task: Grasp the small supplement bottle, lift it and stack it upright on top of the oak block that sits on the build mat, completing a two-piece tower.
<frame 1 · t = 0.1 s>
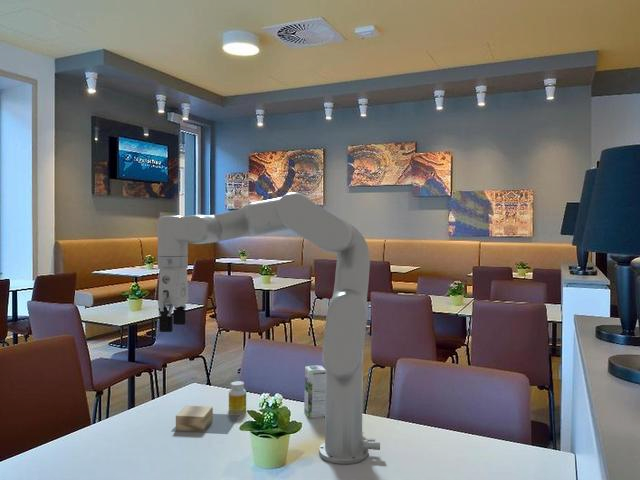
hand: (172, 327, 133), 31 cm above the table, tool pointing down, fingers open, 9 cm apart
build mat: (207, 426, 146), on the table
oak block: (194, 425, 144), point 1 cm above the table, touching build mat
supplement bottle: (237, 414, 156), on the table
syrup box: (315, 415, 156), on the table
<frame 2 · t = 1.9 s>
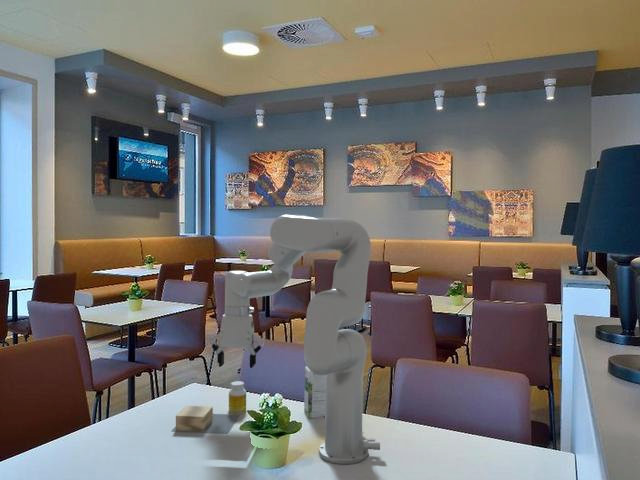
hand: (236, 366, 156), 15 cm above the table, tool pointing down, fingers open, 9 cm apart
nothing on the table moved.
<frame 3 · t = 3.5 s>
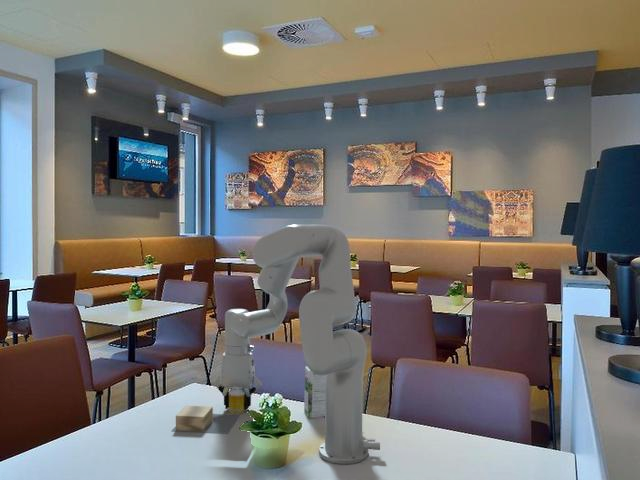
hand: (237, 407, 156), 2 cm above the table, tool pointing down, fingers closed on supplement bottle, 5 cm apart
supplement bottle: (237, 414, 156), on the table, touching gripper
everything else where it was.
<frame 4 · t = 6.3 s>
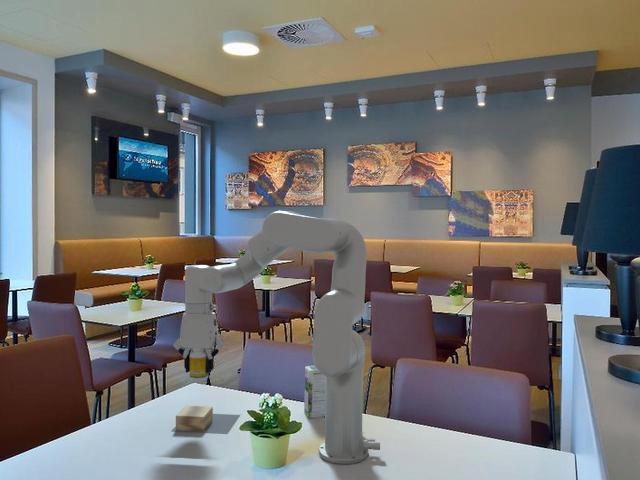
hand: (199, 370, 145), 16 cm above the table, tool pointing down, fingers closed on supplement bottle, 5 cm apart
supplement bottle: (199, 378, 145), point 14 cm above the table, touching gripper
everything else where it was.
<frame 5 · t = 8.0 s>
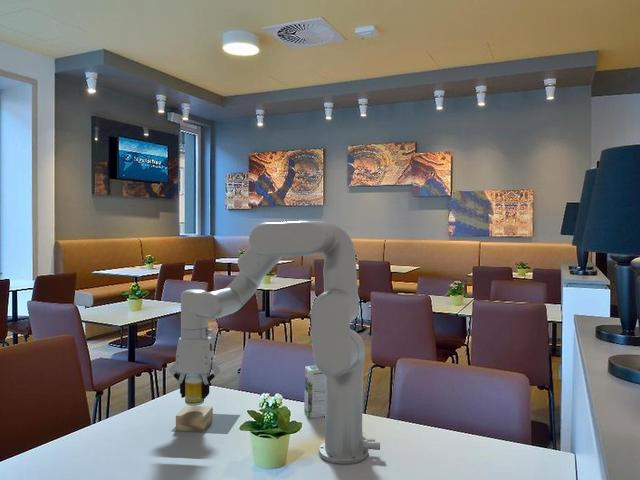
hand: (194, 395, 144), 10 cm above the table, tool pointing down, fingers closed on supplement bottle, 5 cm apart
supplement bottle: (194, 403, 144), point 7 cm above the table, touching gripper
everything else where it was.
when the fingers open (8 cm above the table, at t = 9.2 s): supplement bottle drops 1 cm, resting on oak block.
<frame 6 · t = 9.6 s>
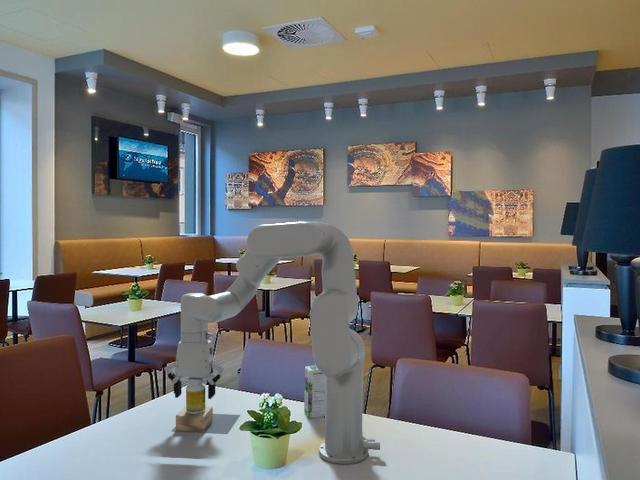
hand: (194, 396, 144), 9 cm above the table, tool pointing down, fingers open, 9 cm apart
oak block: (194, 425, 144), point 1 cm above the table, touching supplement bottle, build mat
supplement bottle: (195, 411, 144), point 5 cm above the table, touching oak block
everything else where it was.
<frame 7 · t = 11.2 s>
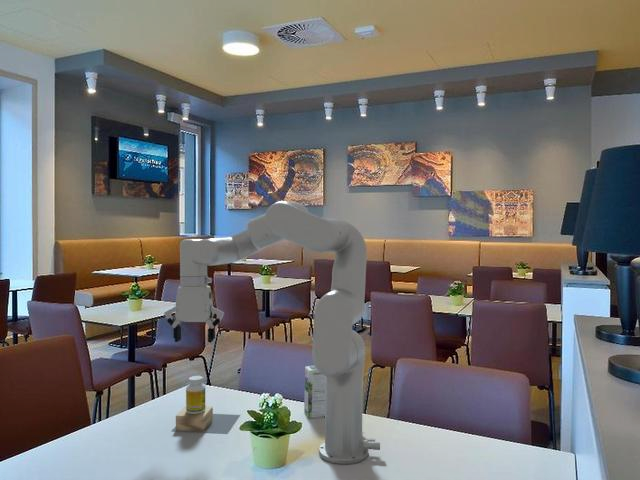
hand: (194, 341, 145), 25 cm above the table, tool pointing down, fingers open, 9 cm apart
nothing on the table moved.
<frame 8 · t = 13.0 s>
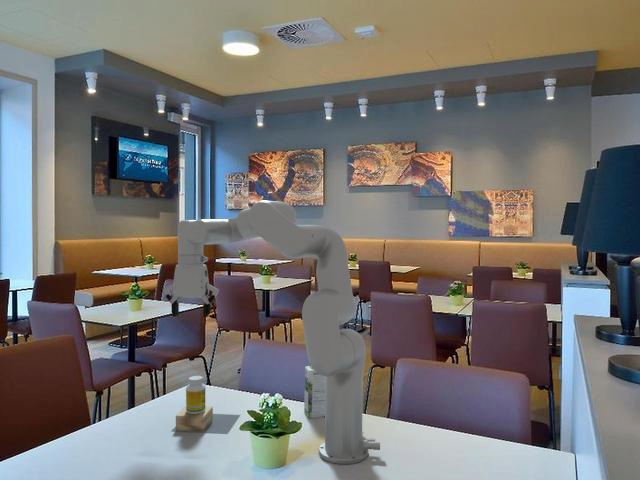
hand: (191, 316, 155), 30 cm above the table, tool pointing down, fingers open, 9 cm apart
nothing on the table moved.
at the end: supplement bottle 0.3 cm off-centre on the oak block, point 3.8 cm above the oak block's base; supplement bottle tilted 0°; oak block moved 0.0 cm from its start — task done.
